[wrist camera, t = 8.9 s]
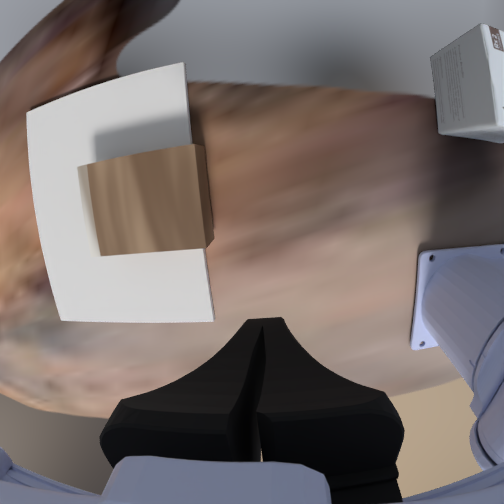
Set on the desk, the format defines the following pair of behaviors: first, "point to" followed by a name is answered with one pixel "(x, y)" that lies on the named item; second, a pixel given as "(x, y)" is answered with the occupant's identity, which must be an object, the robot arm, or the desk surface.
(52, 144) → the mat
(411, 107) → the desk surface
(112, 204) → the brown wooden block
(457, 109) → the skincare box
